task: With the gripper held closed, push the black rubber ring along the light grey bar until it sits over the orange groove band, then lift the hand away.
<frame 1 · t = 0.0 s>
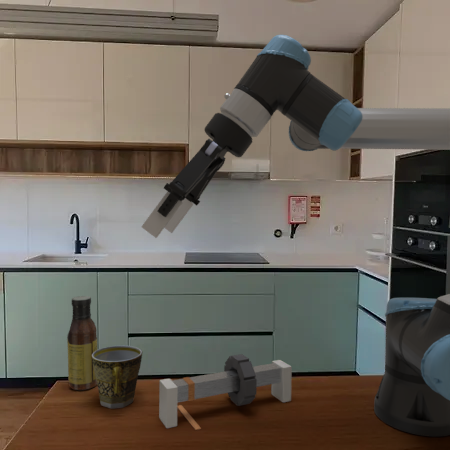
hand: (158, 230, 70), 36 cm above the table, tool tilted 35°, fingers open, 13 cm apart
ceramic cup: (117, 405, 86), on the table
ring: (239, 379, 86), point 6 cm above the table, slide at 0.0 cm
sauce bottle: (82, 387, 95), on the table
stand: (277, 398, 90), on the table
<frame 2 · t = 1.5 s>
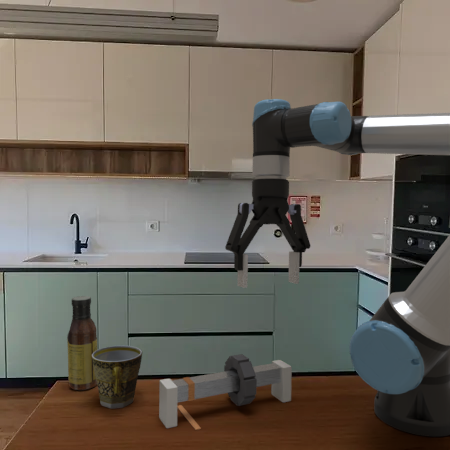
hand: (268, 284, 88), 24 cm above the table, tool pointing down, fingers open, 12 cm apart
nothing on the table moved.
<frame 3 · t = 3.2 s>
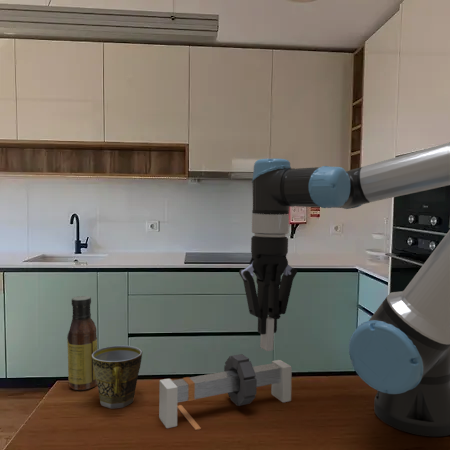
hand: (266, 348, 88), 11 cm above the table, tool pointing down, fingers closed
nothing on the table moved.
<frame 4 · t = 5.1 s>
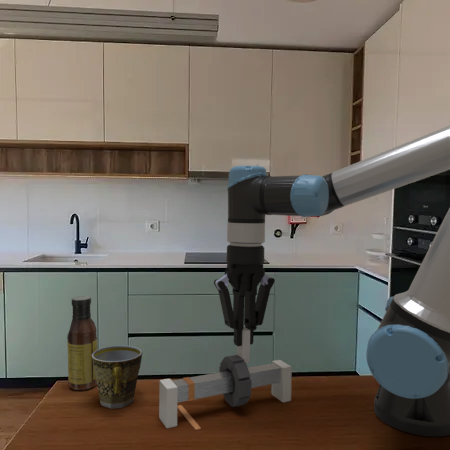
hand: (243, 360, 86), 9 cm above the table, tool pointing down, fingers closed
ring: (234, 380, 85), point 6 cm above the table, slide at 1.2 cm, touching gripper
everything else where it was.
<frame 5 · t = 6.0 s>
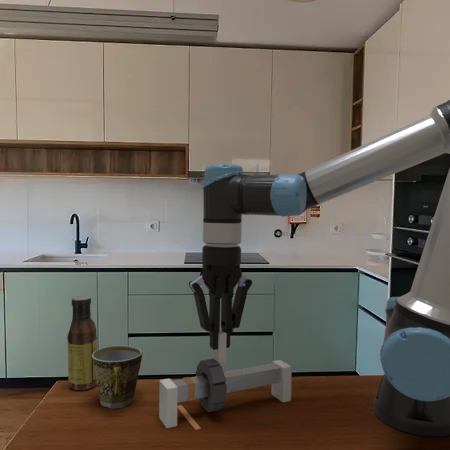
hand: (219, 364, 84), 9 cm above the table, tool pointing down, fingers closed
ring: (210, 384, 83), point 5 cm above the table, slide at 6.4 cm, touching gripper
everything else where it was.
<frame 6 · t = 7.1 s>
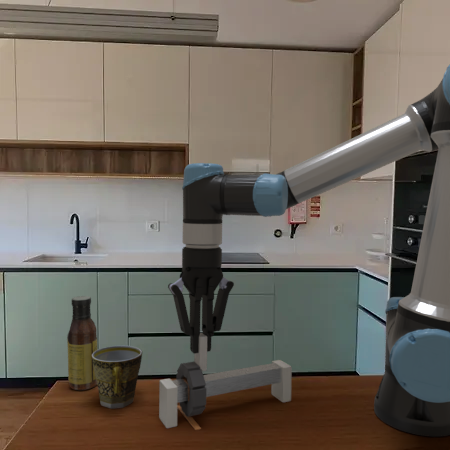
hand: (200, 368, 82), 9 cm above the table, tool pointing down, fingers closed
ring: (190, 388, 81), point 5 cm above the table, slide at 10.5 cm, touching gripper
everything else where it was.
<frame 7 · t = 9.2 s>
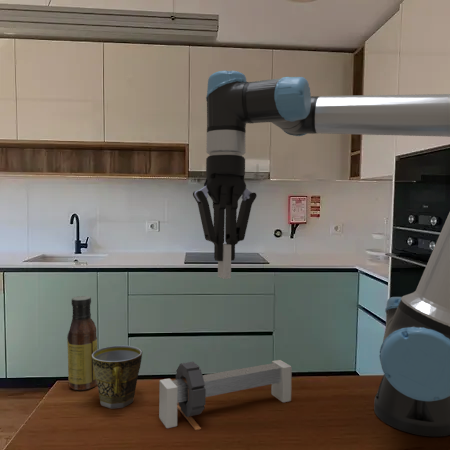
hand: (224, 277, 83), 26 cm above the table, tool pointing down, fingers closed
ring: (189, 388, 81), point 5 cm above the table, slide at 10.7 cm
everything else where it was.
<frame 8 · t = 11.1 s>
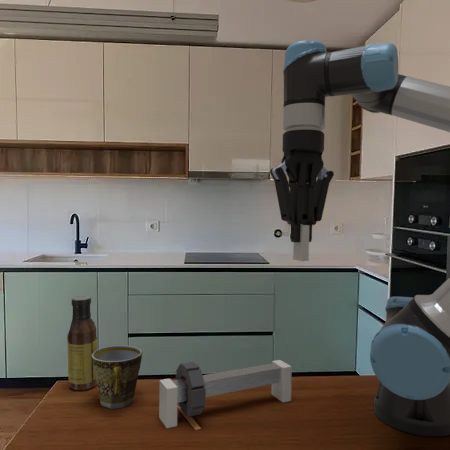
hand: (300, 259, 79), 30 cm above the table, tool pointing down, fingers closed
nothing on the table moved.
at the end: ring slide at 10.7 cm; ring touching nothing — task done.
